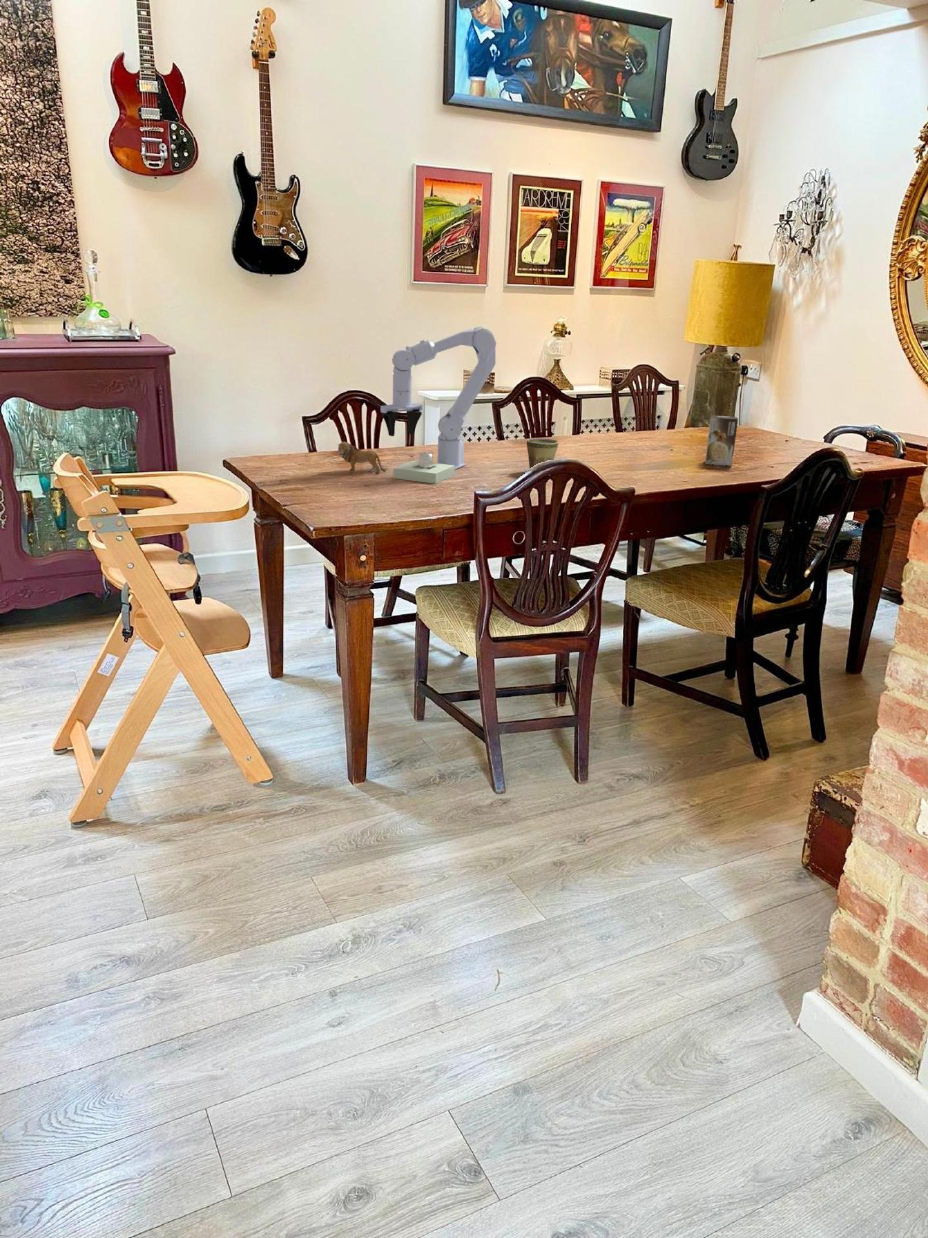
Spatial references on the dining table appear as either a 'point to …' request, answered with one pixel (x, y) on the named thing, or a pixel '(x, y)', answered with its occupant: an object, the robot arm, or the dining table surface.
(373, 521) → the dining table surface
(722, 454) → the coffee box
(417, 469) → the socket block
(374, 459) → the lion figurine
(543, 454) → the ceramic cup
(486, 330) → the robot arm
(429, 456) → the peg
